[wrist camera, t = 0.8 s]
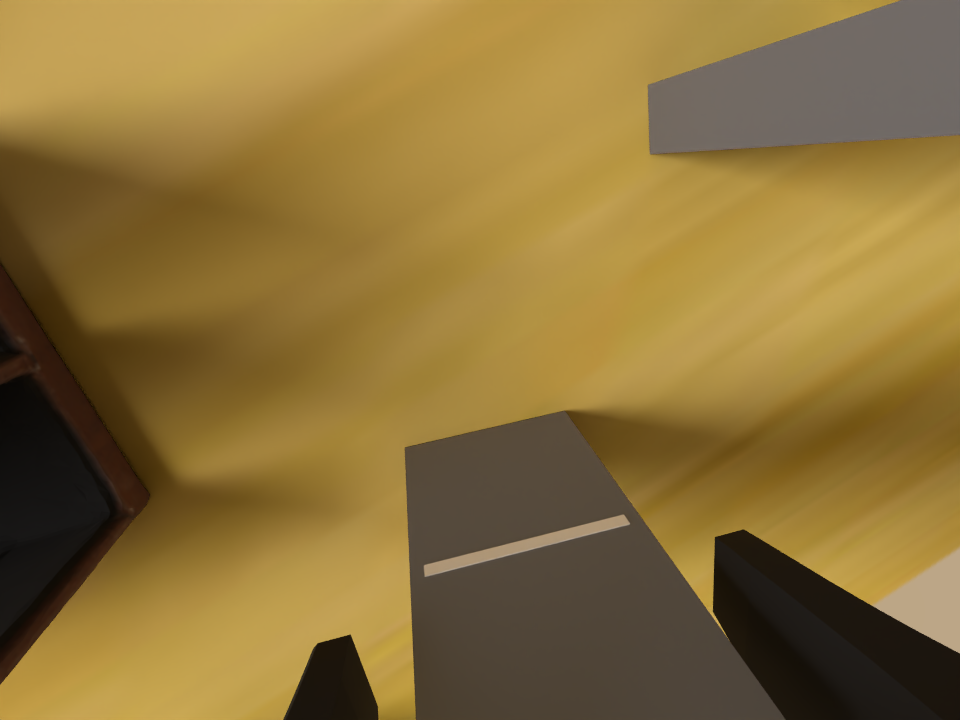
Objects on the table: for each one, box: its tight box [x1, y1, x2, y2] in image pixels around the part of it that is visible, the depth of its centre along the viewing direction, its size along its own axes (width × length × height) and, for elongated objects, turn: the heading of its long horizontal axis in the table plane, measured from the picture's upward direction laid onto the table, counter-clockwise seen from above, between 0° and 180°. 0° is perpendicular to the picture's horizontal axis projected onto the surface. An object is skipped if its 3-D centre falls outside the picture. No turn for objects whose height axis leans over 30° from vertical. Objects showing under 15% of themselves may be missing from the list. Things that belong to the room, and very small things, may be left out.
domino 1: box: [405, 411, 786, 720], centre depth 11 cm, size 5×2×10 cm, turn 100°
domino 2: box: [648, 0, 960, 154], centre depth 8 cm, size 5×2×10 cm, turn 100°
